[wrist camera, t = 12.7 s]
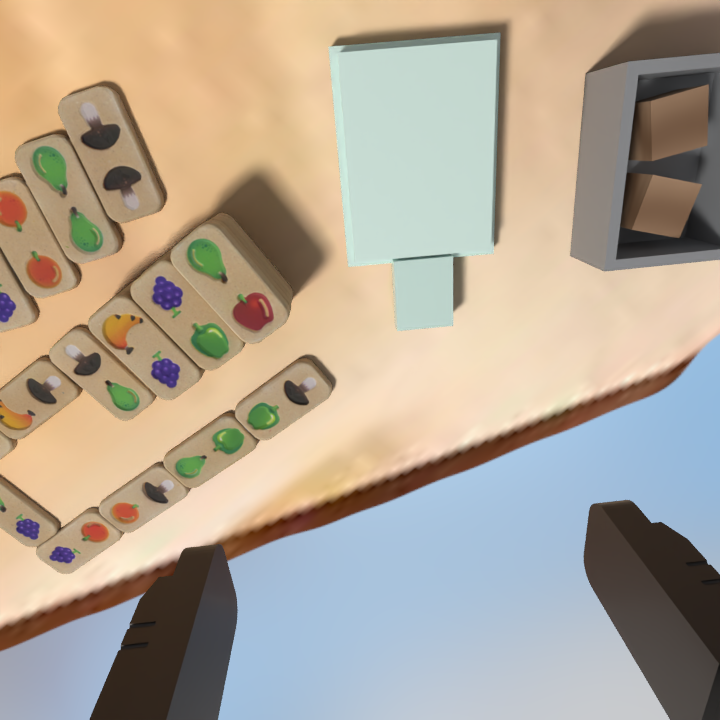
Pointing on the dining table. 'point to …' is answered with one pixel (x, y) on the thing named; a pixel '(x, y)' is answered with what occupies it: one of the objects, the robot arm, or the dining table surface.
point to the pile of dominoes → (130, 323)
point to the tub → (643, 166)
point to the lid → (418, 162)
